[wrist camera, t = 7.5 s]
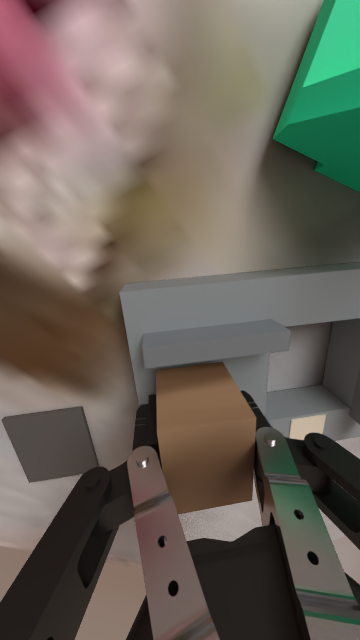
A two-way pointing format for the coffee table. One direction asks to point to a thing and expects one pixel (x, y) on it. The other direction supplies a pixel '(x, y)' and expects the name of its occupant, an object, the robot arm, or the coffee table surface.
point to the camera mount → (328, 96)
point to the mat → (52, 443)
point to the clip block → (204, 437)
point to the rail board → (254, 338)
